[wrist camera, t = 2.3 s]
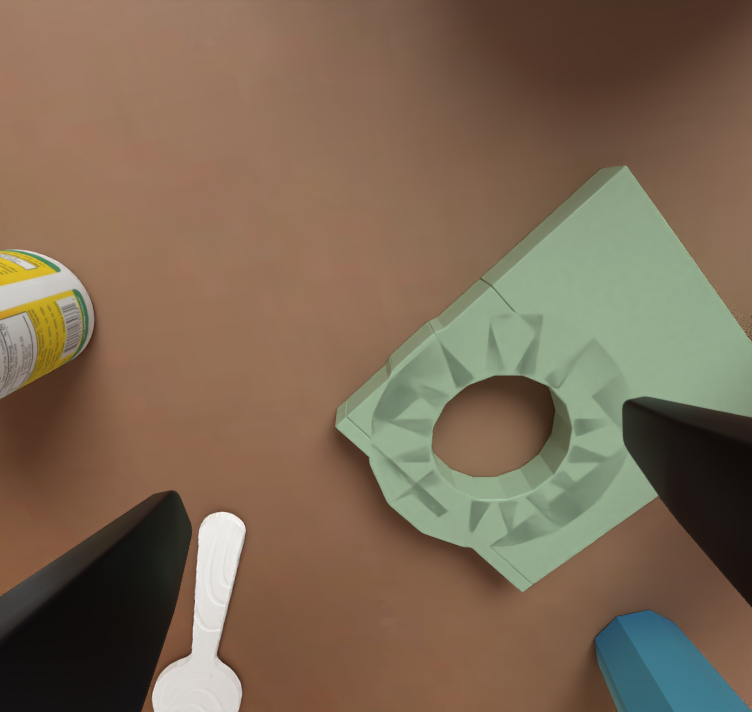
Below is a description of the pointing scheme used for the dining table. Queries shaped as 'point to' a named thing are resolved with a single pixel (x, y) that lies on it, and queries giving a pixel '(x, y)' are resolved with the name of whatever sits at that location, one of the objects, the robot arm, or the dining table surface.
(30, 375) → the supplement bottle
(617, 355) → the holder plate
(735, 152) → the dining table surface
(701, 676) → the cup
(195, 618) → the spoon
